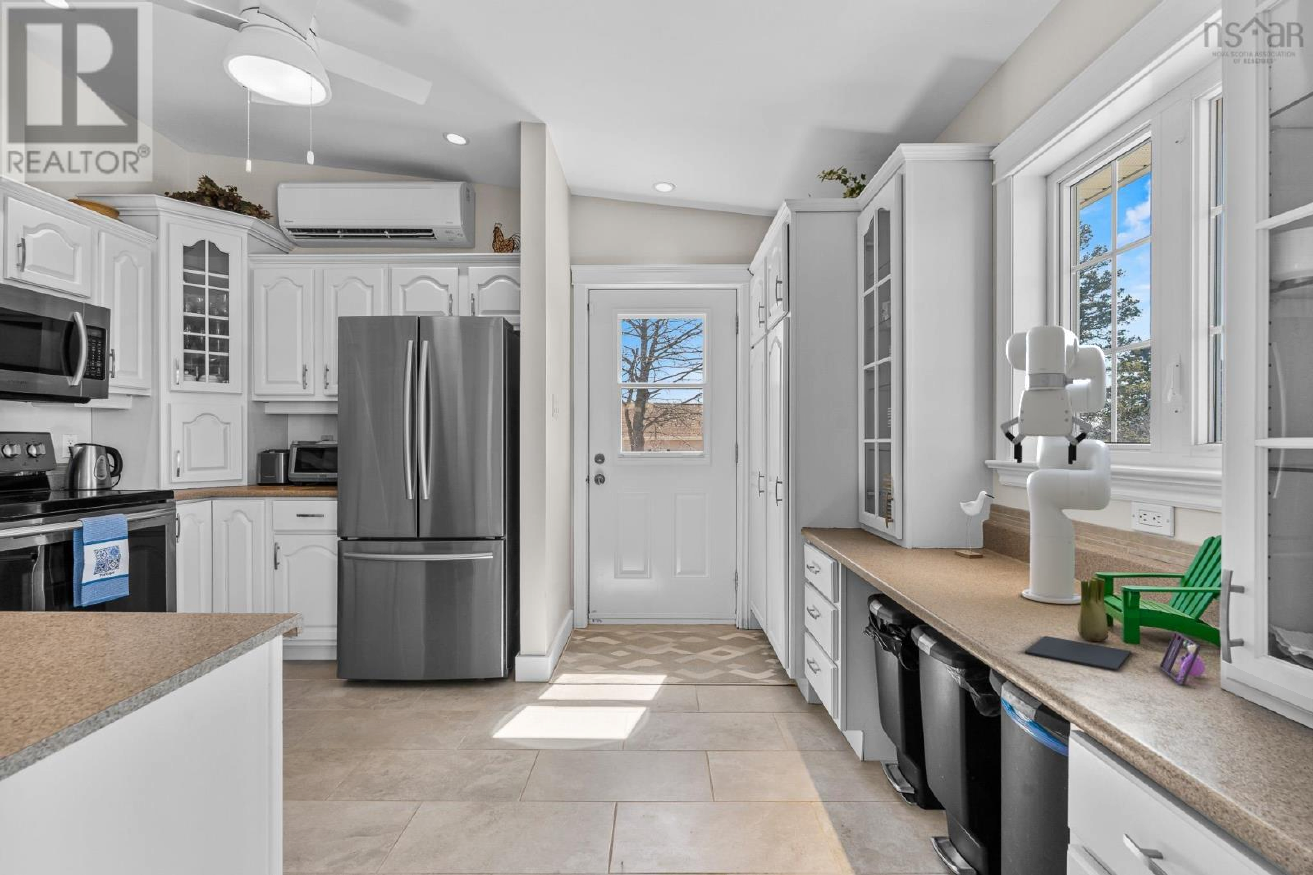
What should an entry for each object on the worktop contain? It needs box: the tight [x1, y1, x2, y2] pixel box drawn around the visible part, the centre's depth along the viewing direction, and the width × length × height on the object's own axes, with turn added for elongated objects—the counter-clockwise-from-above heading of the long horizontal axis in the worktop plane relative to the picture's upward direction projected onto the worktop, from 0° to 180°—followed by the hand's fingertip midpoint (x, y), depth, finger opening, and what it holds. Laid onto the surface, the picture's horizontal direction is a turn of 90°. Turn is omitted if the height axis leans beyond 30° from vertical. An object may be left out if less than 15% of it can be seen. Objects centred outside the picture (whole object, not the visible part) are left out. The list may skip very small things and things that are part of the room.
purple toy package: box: [1159, 630, 1206, 686], centre depth 114 cm, size 7×5×9 cm
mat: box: [1024, 635, 1132, 672], centre depth 127 cm, size 14×14×1 cm
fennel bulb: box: [1076, 576, 1109, 642], centre depth 136 cm, size 6×5×12 cm
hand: (1044, 463), depth 152 cm, fingers open, 9 cm apart
